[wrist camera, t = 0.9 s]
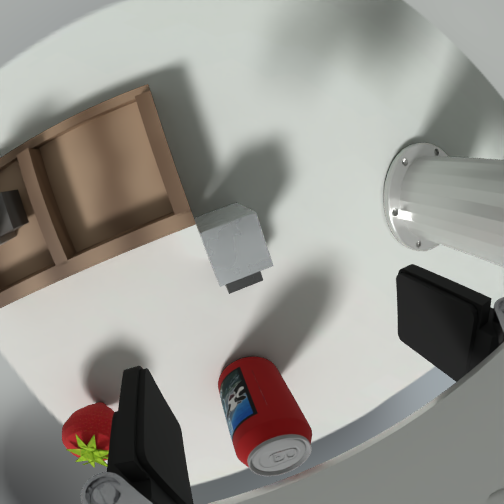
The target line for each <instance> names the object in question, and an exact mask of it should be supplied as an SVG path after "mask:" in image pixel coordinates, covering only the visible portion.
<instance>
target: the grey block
mask: <svg viewBox="0 0 504 504" xmlns="http://www.w3.org/2000/svg"><path fill="white" fill-rule="evenodd" d="M194 220H195V223H196V226H197V229H198V231H199V234H200V237H201V239H202V242H203V245H204V247H205V250H206V253H207V255H208V258H209V260H210V263H211V265H212V268H213V270H214V273H215V275H216V278H217V280H218V283H219V285H220V287H221V286H223V285H225V286H226V288H227V290H228V292H229V294H230V293H232V292H235V291H237V290H240V289H242V288H245V287H248V286H250V285H253V284H255V283H258V282H260V281H263V278H262V275H261V272H260V271H261V270H264V269H266V268H269V267H271V266H273V263H272V260H271V257H270V254H269V251H268V247H267V244H266V241H265V238H264V235H263V232H262V228H261V225H260V222H259V219H258V216H257V213H256V212H255V211H253V210H251V209H249V208H247V207H245V206H243V205H241V204H239V203H237V202H236V203H234V204H231V205H228V206H225V207H223V208H220V209H217V210H214V211H212V212H209V213H206V214H204V215H201V216H198V217H196V218H194Z"/></svg>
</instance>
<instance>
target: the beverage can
mask: <svg viewBox="0 0 504 504" xmlns="http://www.w3.org/2000/svg"><path fill="white" fill-rule="evenodd" d="M218 388H219V393H220V397H221V401H222V405H223V409H224V413H225V417H226V421H227V424H228V428H229V432H230V435H231V439H232V442H233V445H234V449H235V452H236V455H237V457H238V459H239V460H240V461H241V462H242V463H244V464H245V465H246V466H248V467H249V468H250V470H251V471H252V472H253V473H255V474H257V475H261V476H275V475H281V474H284V473H287V472H290V471H292V470H294V469H295V468H297V467H299V466H300V465H301V464H303V463H304V462H305V461H306V460H307V458H308V457H309V455H310V453H311V438H312V430H311V427H310V426H309V424H308V422H307V420H306V418H305V417H304V415H303V413H302V411H301V409H300V408H299V406H298V404H297V402H296V401H295V399H294V397H293V395H292V393H291V392H290V390H289V388H288V386H287V385H286V383H285V381H284V380H283V378H282V376H281V374H280V373H279V371H278V369H277V368H276V366H275V365H274V364H273V363H272V362H271V361H269V360H267V359H265V358H262V357H245V358H242V359H239V360H236V361H234V362H233V363H231V364H230V365H228V366H227V367H226V368H225V369H224V370H223V372H222V373H221V375H220V377H219V381H218Z"/></svg>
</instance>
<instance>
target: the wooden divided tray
mask: <svg viewBox="0 0 504 504" xmlns="http://www.w3.org/2000/svg"><path fill="white" fill-rule="evenodd" d="M195 224H196V223H195V220H194V217H193V214H192V212H191V209H190V206H189V203H188V201H187V198H186V195H185V192H184V190H183V187H182V184H181V181H180V178H179V175H178V173H177V170H176V167H175V164H174V161H173V158H172V155H171V152H170V149H169V146H168V143H167V140H166V137H165V134H164V131H163V128H162V125H161V122H160V119H159V116H158V113H157V110H156V107H155V104H154V101H153V98H152V94H151V91H150V88H149V85H148V84H147V85H144V86H141V87H139V88H136V89H134V90H131V91H128V92H126V93H123V94H121V95H118V96H116V97H114V98H111V99H109V100H107V101H104V102H102V103H100V104H97V105H95V106H93V107H91V108H89V109H87V110H84V111H82V112H80V113H78V114H76V115H74V116H72V117H70V118H68V119H66V120H64V121H62V122H60V123H58V124H57V125H55V126H53V127H51V128H49V129H47V130H45V131H44V132H42V133H40V134H38V135H37V136H35V137H33V138H31V139H30V140H28V141H26V142H25V143H23V144H21V145H20V146H18V147H17V148H15V149H13V150H12V151H10V152H9V153H7V154H6V155H4V156H3V157H1V158H0V308H2V307H4V306H6V305H8V304H10V303H12V302H14V301H16V300H18V299H20V298H23V297H25V296H27V295H29V294H31V293H33V292H35V291H38V290H40V289H42V288H44V287H46V286H49V285H51V284H53V283H55V282H57V281H60V280H62V279H64V278H66V277H69V276H71V275H73V274H76V273H78V272H80V271H82V270H85V269H87V268H89V267H92V266H94V265H96V264H99V263H101V262H103V261H106V260H108V259H110V258H113V257H115V256H118V255H120V254H122V253H125V252H127V251H130V250H132V249H135V248H137V247H140V246H142V245H144V244H147V243H149V242H152V241H154V240H157V239H159V238H162V237H164V236H167V235H170V234H172V233H175V232H177V231H180V230H182V229H185V228H188V227H190V226H193V225H195Z"/></svg>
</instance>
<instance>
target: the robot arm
mask: <svg viewBox="0 0 504 504" xmlns="http://www.w3.org/2000/svg"><path fill="white" fill-rule="evenodd" d="M384 209H385V216H386V219H387V222H388V226H389V228H390V230H391V232H392V234H393V235H394V236H395V238H396V239H397V240H398V241H399V242H400V243H401V244H403V245H404V246H406V247H408V248H410V249H413V250H416V251H427V250H431V249H433V248H435V247H437V246H438V245H439V244H441V245H444V246H447V247H450V248H452V249H455V250H458V251H461V252H464V253H467V254H469V255H472V256H475V257H478V258H480V259H483V260H486V261H489V262H491V263H494V264H497V265H499V266H502V267H504V160H498V159H484V158H466V157H448V156H447V154H446V153H445V152H444V151H443V150H442V149H440V148H439V147H437V146H435V145H433V144H429V143H416V144H412V145H409V146H407V147H406V148H404V149H403V150H402V151H401V152H400V153H399V154H398V155H397V156H396V158H395V159H394V160H393V162H392V164H391V166H390V168H389V171H388V173H387V177H386V181H385V187H384ZM396 284H397V308H398V336H399V338H400V340H401V341H402V342H404V343H405V344H406V345H408V346H409V347H410V348H412V349H413V350H414V351H416V352H417V353H419V354H420V355H421V356H423V357H424V358H425V359H427V360H428V361H429V362H431V363H432V364H433V365H435V366H436V367H437V368H439V369H440V370H441V371H443V372H444V373H445V374H447V375H448V376H449V377H451V378H452V379H453V380H455V381H456V383H455V384H453V385H452V386H451V387H450V388H448V389H447V390H445V391H444V392H443V393H442V394H440V395H439V396H437V397H436V398H435V399H433V400H432V401H430V402H429V403H427V404H426V405H424V406H423V407H422V408H420V409H419V410H417V411H416V412H414V413H413V414H411V415H410V416H408V417H406V418H405V419H403V420H402V421H400V422H398V423H397V424H395V425H394V426H392V427H390V428H389V429H387V430H385V431H383V432H382V433H380V434H378V435H377V436H375V437H373V438H372V439H369V440H368V441H366V442H364V443H362V444H360V445H358V446H356V447H354V448H353V449H351V450H349V451H347V452H345V453H343V454H341V455H339V456H337V457H334V458H332V459H331V460H328V461H326V462H324V463H322V464H319V465H317V466H315V467H313V468H310V469H308V470H306V471H303V472H301V473H299V474H296V475H293V476H291V477H288V478H286V479H283V480H281V481H278V482H275V483H272V484H269V485H267V486H264V487H261V488H258V489H255V490H252V491H249V492H246V493H243V494H240V495H237V496H233V497H230V498H227V499H223V500H220V501H216V502H212V503H209V504H504V297H503V298H500V299H498V300H497V301H496V302H495V304H494V309H493V308H491V307H490V305H491V298H489V297H487V296H485V295H483V294H481V293H478V292H476V291H474V290H472V289H469V288H467V287H465V286H463V285H460V284H458V283H456V282H454V281H451V280H449V279H447V278H444V277H442V276H440V275H437V274H435V273H433V272H430V271H428V270H426V269H423V268H421V267H419V266H416V265H413V264H411V265H409V266H407V267H405V268H402V269H400V270H399V273H398V275H397V277H396ZM80 496H81V502H82V504H193V499H192V494H191V488H190V482H189V477H188V471H187V465H186V458H185V452H184V445H183V438H182V431H181V428H180V425H179V423H178V421H177V419H176V418H175V416H174V414H173V413H172V411H171V409H170V407H169V406H168V404H167V402H166V401H165V399H164V397H163V395H162V394H161V392H160V390H159V388H158V386H157V385H156V383H155V381H154V379H153V377H152V375H151V373H150V372H149V370H148V369H147V368H146V369H142V367H141V366H137V367H133V368H130V369H126V370H124V372H123V378H122V385H121V392H120V400H119V408H118V411H117V412H115V413H113V417H112V425H111V433H110V443H109V453H108V465H107V472H102V473H99V474H96V475H94V476H93V477H91V478H89V479H88V481H87V482H86V483H85V484H84V486H83V488H82V490H81V495H80Z"/></svg>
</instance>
